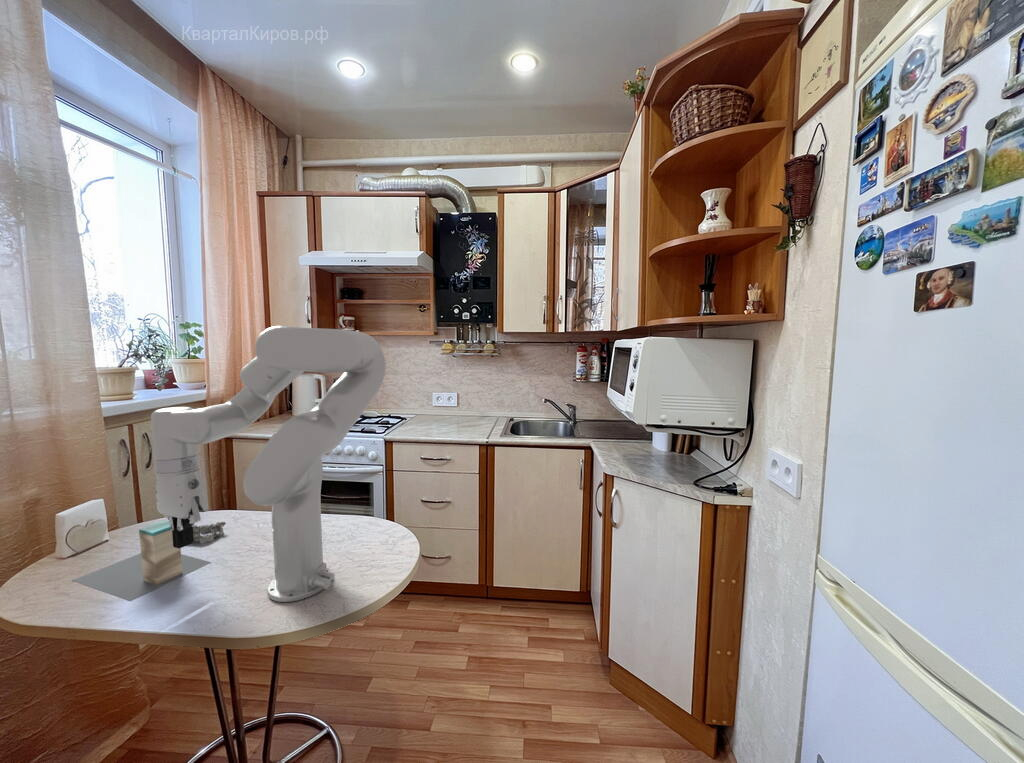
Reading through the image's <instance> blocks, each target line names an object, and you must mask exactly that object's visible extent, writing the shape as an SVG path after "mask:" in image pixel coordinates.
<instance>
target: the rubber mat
mask: <svg viewBox="0 0 1024 763" xmlns="http://www.w3.org/2000/svg"><path fill="white" fill-rule="evenodd" d="M181 561H182V573H181V574H179V575H177V576H175V577H173V578H171V579H169V580H166V581H164V582H162V583H160V584H158V585H156V584H153V583H150V582H147V581H143V570H142V559H141V552H140V553H138V554H135V555H132V556H130V557H128V558H125V559H122V560H120V561H117V562H115V563H113V564H110V565H107V566H105V567H102V568H100V569H97V570H95V571H92V572H89V573H87V574H85V575H82V576H79V577H77V578H75V579H72V580H71V581H72V582H75V583H78V584H81V585H83V586H86V587H90V588H92V589H93V590H98V591H100V592H104V593H106V594H109V595H112V596H114V597H117V598H120V599H122V600H126V601H128V602H132V601H134V600H136V599H138V598H140V597H142V596H144V595H147V594H149V593H150V592H153V591H154V590H155V591H156V590H158V589H159V588H162V587H163V586H166V585H167V584H169V583H171V582H173V581H175V580H179V579H180V578H182V577H184V576H186V575H189V574H190V573H193V572H195V571H196V570H199V569H201V568H203V567H205V566H207V565H209V564H211V563H212V561H208V560H204V559H201V558H197V557H193V556H191V555H185V554H182V553H181Z"/></svg>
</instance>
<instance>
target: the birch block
mask: <svg viewBox="0 0 1024 763" xmlns="http://www.w3.org/2000/svg"><path fill="white" fill-rule="evenodd" d="M173 530H174V529H173ZM138 534H139V535H138V536H139V544H140V547H139V548H140V553H141V559H142V570H143V581H147V582H150V583H153V584H156V585H158V584H160V583H162V582H164V581H166V580H169V579H171V578H173V577H175V576H177V575H179V574H181V573H182V561H181V554H182V550H181V549H182V548H180V549H179V548H175V547H173V538H172V529H171V528H170V523H169V520H162V521H160V522H157V523H154V524H150V525H147V526H145V527H142V528H140V529H138Z"/></svg>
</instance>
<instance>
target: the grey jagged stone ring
mask: <svg viewBox="0 0 1024 763" xmlns="http://www.w3.org/2000/svg"><path fill="white" fill-rule="evenodd" d="M226 524H227V522H225V521H219V522H218V521H217V522H216V523H212V524H204V525H203V524H202V525H199V526H197V524H196V525H195V524H194V526H193V534H194V542H193V543H196V542H199V544H202V545H203V544H206V543H211V542H212V541H214V539H215V538H216V537H221V536H223V535H224V534H225V533H224V529H223V528H224V527H225V525H226ZM209 532H210V533H211V534H208V533H209ZM201 534H205V535H203V536H202V535H201Z"/></svg>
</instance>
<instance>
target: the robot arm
mask: <svg viewBox="0 0 1024 763" xmlns="http://www.w3.org/2000/svg"><path fill="white" fill-rule="evenodd" d="M254 352H255V356H254V358H252V359H251V360H250V361H249V362H248V363H247V364H245V365H243V367H242V368H241V370H240V371H239V377H240V380H241V382H242V384H243V385H244V386H243V388H241V390H239V392H237V393H236V394H235V395H234V396H232V397H231V398H230V399H228V401H226V402H224V403H221V404H214V405H210V406H206V407H200V408H195V409H194V408H193V407H190V406H172V407H164V408H159V409H158V408H157V409H156V410H154V411H153V412H152V413H151V415H150V423H151V424H150V425H151V426H150V427H151V435H152V449H153V461H154V474H155V476H156V478H155V479H156V481H155V482H156V483H155V497H156V499H155V500H156V508H157V511H158V513H159V514H161V515H162V516H163V517H164V518H166V519H167V521H169V523H170V528H171V529H172V538H173V547H175V548H179V549H180V548H181V549H182V548H184V547H186V546H188V545H192V544H193V543H195V542H194V534H193V526H194V525H195V523H198V522H201V520H202V518H201V515H200V513H205V512H207V511H208V510H209V505H208V495H207V488H206V483H205V478H204V475H203V471H202V469H201V462H200V461H201V460H200V459H201V458H200V449H199V448H200V447H199V445H205V444H206V445H207V444H210V443H213V442H216V441H219V440H221V439H223V438H227V437H231V436H235V435H237V434H239V433H241V432H244V431H245V430H246V429H247V428H248V427H250V426H251V425H252V424H254V422H256V421H258V419H260V418H261V416H263V415H264V414H265V413H266V412H267V411H268V410H269V409H270V407H271V406H272V404H273V403H274V401H275V399H276V397H277V395H278V394H280V393H281V392H282V391H284V389H285V388H286V387H288V386H289V385H290V384H292V382H294V381H295V380H296V379H297V378H299V377H300V376H301V375H302V374H303V373H305V372H306V373H307V372H310V373H311V372H312V373H326V374H327V373H328V374H342V375H341V376H340V377H339V378H338V379H337V380H336V381H335V382H334V383H333V384H332V385H331V386H330V388H329V389H328V390H327V392H326V393H325V394H324V396H323V397H322V398H321V400H320V401H319V402H318V403H317V404H316V405H315V406H314V407H313V408H311V410H308V411H306V412H303V413H299V414H297V415H294V416H292V417H291V418H289V419H288V420H286V421H285V422H284V423H282V424H281V425H280V426H279V427H278V428H277V429H276V430H275V432H274V433H273V434H272V435H271V437H270V438H269V439H268V441H267V442H266V443H265V445H264V446H263V447H262V449H261V450H260V451H259V452H258V454H257V455H256V457H255V458H254V459H253V461H252V462H251V463H250V464H249V466H248V467H247V470H246V471H245V473H244V476H243V480H242V481H243V482H242V483H243V484H242V485H243V486H242V487H243V491H244V494H245V496H246V497H247V499H248V500H250V501H251V502H252V503H254V504H256V505H259V506H264V507H271V526H272V527H271V530H272V531H271V532H272V544H273V545H272V546H273V564H274V565H273V566H274V578H273V579H272V580H271V581H270V582H269V584H268V586H267V589H266V590H267V596H268V598H269V599H270V600H273V601H274V602H279V603H282V602H284V603H287V602H288V603H290V602H296V601H301V600H304V598H305V599H307V598H309V597H312V596H314V595H316V594H317V593H319V592H321V591H323V590H327V589H329V588H330V586H331V585H332V584H331V583H332V581H333V580H334V578H335V575H336V574H335V573H333V572H332V571H331V570H330V569H329V568H328V566H327V563H326V562H324V551H323V533H322V532H323V531H322V506H321V505H322V504H321V503H322V502H321V501H322V500H321V499H322V498H321V494H322V493H321V492H322V491H321V490H322V484H323V482H322V481H323V473H324V472H323V471H324V470H323V469H324V467H323V459H322V457H323V456H325V455H327V454H329V453H330V452H332V451H334V449H336V448H337V447H338V446H339V445H340V444H341V443H342V442H343V441H344V439H345V438H346V436H347V435H348V433H349V432H350V431H351V429H352V428H353V426H355V424H356V423H357V421H358V420H359V419H360V417H361V416H362V415H363V413H364V412H365V410H366V409H367V407H369V405H370V403H371V402H372V401H373V400H374V399H375V397H376V396H377V394H378V392H379V391H380V389H381V387H382V385H383V384H384V383H383V382H384V380H385V376H386V369H387V364H386V358H385V353H384V351H383V349H382V347H381V346H380V344H379V342H378V341H377V340H376V339H375V338H374V337H373V336H371V335H369V334H368V333H365V332H362V331H356V330H348V329H339V328H315V327H297V326H289V325H287V326H286V325H275V326H271V327H268V328H266V329H265V330H263V331H262V332H261V333H260V334H259V335H258V336H257V338H256V340H255V344H254ZM173 529H174V530H173Z"/></svg>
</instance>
